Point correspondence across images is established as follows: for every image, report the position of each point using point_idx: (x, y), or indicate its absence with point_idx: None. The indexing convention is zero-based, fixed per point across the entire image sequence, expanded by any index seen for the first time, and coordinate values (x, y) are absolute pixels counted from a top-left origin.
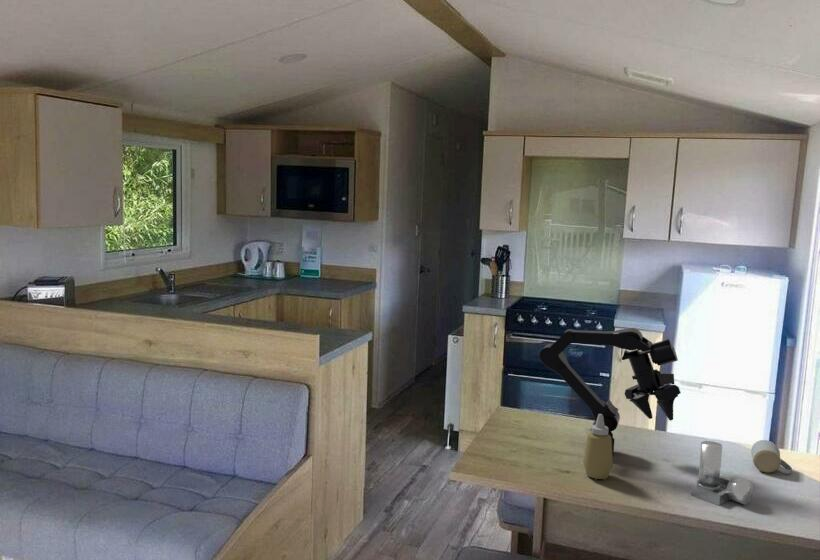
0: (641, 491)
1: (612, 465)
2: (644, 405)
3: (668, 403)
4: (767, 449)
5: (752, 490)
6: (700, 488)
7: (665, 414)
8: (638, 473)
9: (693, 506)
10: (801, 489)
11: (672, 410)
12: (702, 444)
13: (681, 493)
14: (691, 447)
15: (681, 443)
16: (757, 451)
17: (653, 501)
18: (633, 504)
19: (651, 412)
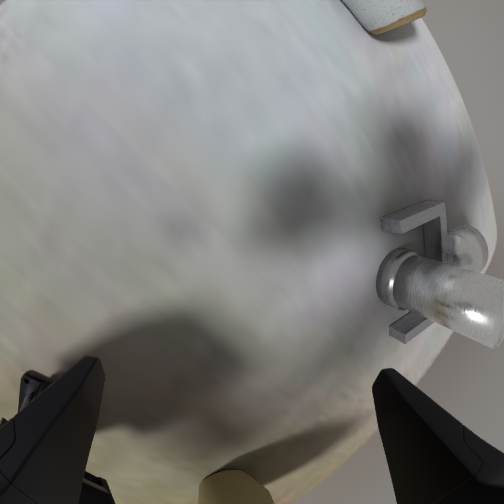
0: (327, 428)
1: (261, 488)
2: (58, 492)
3: (465, 488)
4: (420, 4)
5: (467, 225)
6: (419, 330)
7: (386, 449)
8: (248, 399)
9: (410, 358)
10: (439, 68)
11: (444, 419)
12: (493, 348)
13: (375, 351)
14: (123, 21)
15: (73, 28)
16: (401, 12)
17: (364, 420)
18: (351, 452)
19: (80, 391)
